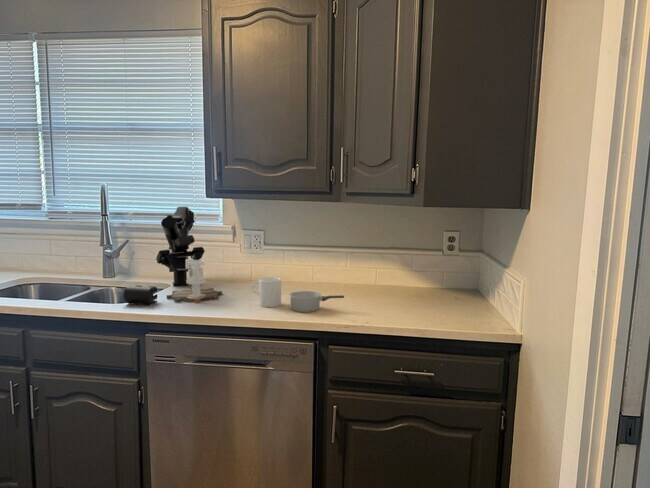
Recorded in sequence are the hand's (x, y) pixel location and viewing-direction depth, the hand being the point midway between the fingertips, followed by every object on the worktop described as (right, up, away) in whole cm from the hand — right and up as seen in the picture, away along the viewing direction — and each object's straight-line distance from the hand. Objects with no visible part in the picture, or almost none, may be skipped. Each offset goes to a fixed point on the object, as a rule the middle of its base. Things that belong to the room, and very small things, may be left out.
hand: (187, 271), depth 176 cm
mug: (+33, -12, -9) cm, 36 cm away
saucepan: (+52, -13, -16) cm, 56 cm away
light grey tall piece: (+5, -10, -4) cm, 12 cm away
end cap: (-14, -12, -11) cm, 21 cm away
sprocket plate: (+3, -10, +1) cm, 11 cm away
